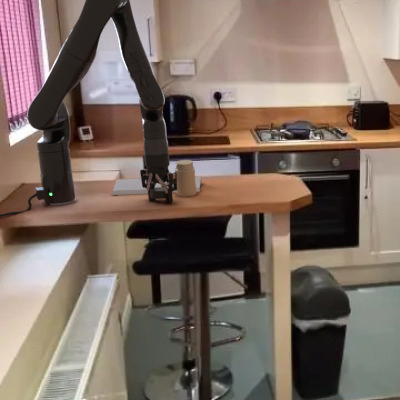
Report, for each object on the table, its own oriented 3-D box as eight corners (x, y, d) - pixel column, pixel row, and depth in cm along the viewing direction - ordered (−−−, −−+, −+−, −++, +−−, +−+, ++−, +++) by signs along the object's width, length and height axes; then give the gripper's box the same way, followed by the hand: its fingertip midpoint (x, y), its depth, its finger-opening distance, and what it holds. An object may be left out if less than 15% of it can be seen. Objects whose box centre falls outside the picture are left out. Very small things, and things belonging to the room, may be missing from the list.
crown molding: (112, 195, 201) (111, 185, 200) (119, 186, 213) (118, 177, 212) (200, 192, 205) (199, 181, 204) (202, 183, 217) (201, 174, 216)
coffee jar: (180, 198, 197) (178, 165, 194) (174, 192, 203) (171, 161, 199) (199, 195, 201) (196, 162, 197) (192, 189, 206) (190, 158, 202)
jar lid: (154, 194, 196) (153, 186, 195) (174, 194, 196) (174, 186, 195) (147, 198, 189) (147, 191, 188) (168, 198, 189) (168, 191, 188)
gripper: (131, 151, 188) (136, 202, 193) (164, 155, 181) (168, 208, 186) (148, 148, 195) (153, 197, 199) (181, 151, 188) (185, 202, 192)
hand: (160, 202), depth 192 cm, fingers closed on jar lid, 6 cm apart
